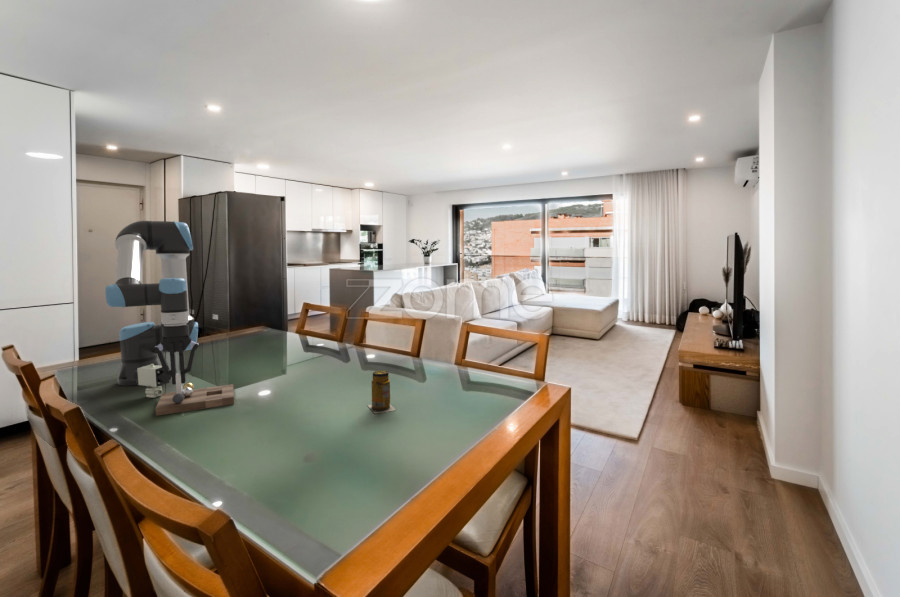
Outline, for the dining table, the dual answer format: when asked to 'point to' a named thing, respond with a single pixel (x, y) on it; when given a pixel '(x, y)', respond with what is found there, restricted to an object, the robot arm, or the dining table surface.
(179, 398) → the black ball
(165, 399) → the board
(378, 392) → the condiment
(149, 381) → the pneumatic valve
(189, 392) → the steel ball
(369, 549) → the dining table surface
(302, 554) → the dining table surface
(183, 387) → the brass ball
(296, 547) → the dining table surface
